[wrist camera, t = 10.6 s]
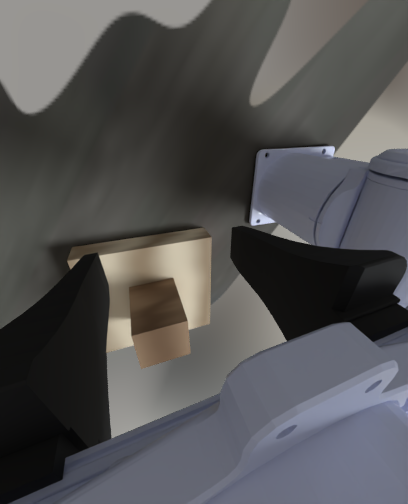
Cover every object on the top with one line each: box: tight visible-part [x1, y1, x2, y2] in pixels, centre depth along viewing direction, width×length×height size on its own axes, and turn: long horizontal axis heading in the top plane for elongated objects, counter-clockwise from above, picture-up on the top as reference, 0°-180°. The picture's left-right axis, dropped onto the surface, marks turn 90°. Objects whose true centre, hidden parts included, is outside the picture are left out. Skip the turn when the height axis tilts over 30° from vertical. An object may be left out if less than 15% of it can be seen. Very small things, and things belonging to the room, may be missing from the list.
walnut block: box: [129, 278, 190, 369], centre depth 21 cm, size 4×4×6 cm
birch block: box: [67, 228, 212, 353], centre depth 24 cm, size 13×13×3 cm
